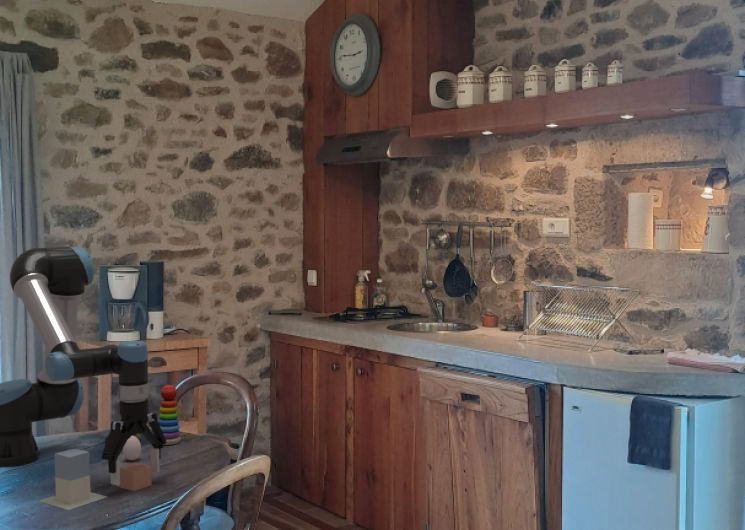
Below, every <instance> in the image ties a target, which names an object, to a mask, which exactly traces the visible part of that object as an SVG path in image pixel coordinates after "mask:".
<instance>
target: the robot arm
mask: <svg viewBox="0 0 745 530" xmlns="http://www.w3.org/2000/svg"><path fill="white" fill-rule="evenodd" d="M94 277H95V268H94V263H93V260H92V258H91V256H90V254H89V253H88V251H87V250H86V249H84V248H82V247H80V246H79V247H76V246H75V247H74V246H73V247H72V246H59V247H57V246H55V247H35V248H30V249H27V250H25V251H23V252H22V253H20V254H19V256H17V257H16V259H15V260H14V261H13V264H12V265H11V268H10V273H9V284H10V286H11V289H12V292H13V293H14V295H15V296H16V297H17V298H18V299H21V301H22V303H23V305H24V307H25V309H26V311H27V312H28V314H29V316H30V319H31V321H32V323H33V324H34V327H35V329H36V331H37V333H38V335H39V336H40V337H39V338H40V339H41V341H42V343H43V345H44V353H43V354H44V355H43V365H42V366H43V368H42V370H41V371H40V372H39V373H37V376H36V379H37V380H36V382H33V383H32V381H31V380H30V379H27V378H20V379H12V380H11V379H10V380H8V381H4V382H1V383H0V468H1V467H16V466H23V465H26V464H31V463H33V462H35V461H37V460H39V458H40V450H39V447H38V444H37V442H36V439H35V436H34V434H33V423H34V422H36V423H37V422H42V421H48V420H53V419H54V420H55V419H63V418H66V417H69V416H73V415H76V413H78V412H79V411H80V409H81V408H82V405H83V401H84V394H85V393H84V392H85V391H84V389H83V388H84V386H83V382H82V381H81V380H80V379H81V378H89V377H90V378H91V377H97V376H106V375H113V374H114V375H118V399H119V400H120V401H119V415H120V417H121V419H120V421H114V420H113V421H111V422H110V431H109V432H108V434H109V436H108V439H107V442H105V446H104V448H103V451H102V454H101V459H102V460H106V461H108V462H107V463H108V464H107V465H108V473H109V474H110V485H114V486H117V487H119V485H120V468H121V467H120V459H118V458H119V456H120V454H121V453H122V452H123V447H124V445H125V444H126V442H127V440H128V439H129V438H130V437H131V435H132V436H133V435H136V434H139V435H141V434H142V435H143V436H144V437H145V439H146V440H147V441H148V443H149V444H150V445H151V446H152V447H149V452H150V453H149V459H150V460H149V461H150V462H149V463H150V465H149V466H151V473H157V474H159V473H160V472H161V471H160V459H161V456H162V455H161V453H162V452H161V450H162V449H163V448H164V446H165V445H163V444H166V442H167V441H166V439H165V436H164V434H163V432H162V430H161V428H160V425H159V423H158V415H157V413H155V412H149V411H150V410H149V409H150V408H149V405H150V404H149V399H147V398H149V353H148V347H147V346H148V345H147V343H146V342H145V341H141V340H129V341H122V342H120V343H119V344H117V345H116V344H104V345H101V346H100V347H99V346H98V347H93V348H84V349H83V348H82V349H81V348H79V345H78V343H77V342H76V334H77V333H76V332H77V325H78V324H77V321H78V310H79V300H80V299H79V298H81V296H83V295H84V294H85V289H86V287H87V286H89V285H91V284H92V283H93V281H94ZM148 424H149V426H148ZM120 429H121V431H120ZM125 433H126V434H125Z"/></svg>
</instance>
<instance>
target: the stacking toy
mask: <svg viewBox="0 0 745 530" xmlns="http://www.w3.org/2000/svg"><path fill="white" fill-rule="evenodd" d="M177 395H178V391H177V388H176V387H175V386H174V385H172V384H166V385H164V386H163V387H162V388H161V390H160V397H161V398H162V400H161V401H160V407H159V415H158V417H159V419H157V421H158V423H159V425H160V428H161V430H162V432H163V434H164V436H165V439H166V441H167V442H166V444H163V445H164V446H172V445H173V446H174V445H177V444H179V443H180V442H181V440H182V437H181V431H180V427H181V426H180V425H179V422H180V419H179V418H178V417H179V413H178V407H177V406H176V405H177V403H178V401H177V400H176V399H175V398H176V397H177Z"/></svg>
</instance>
